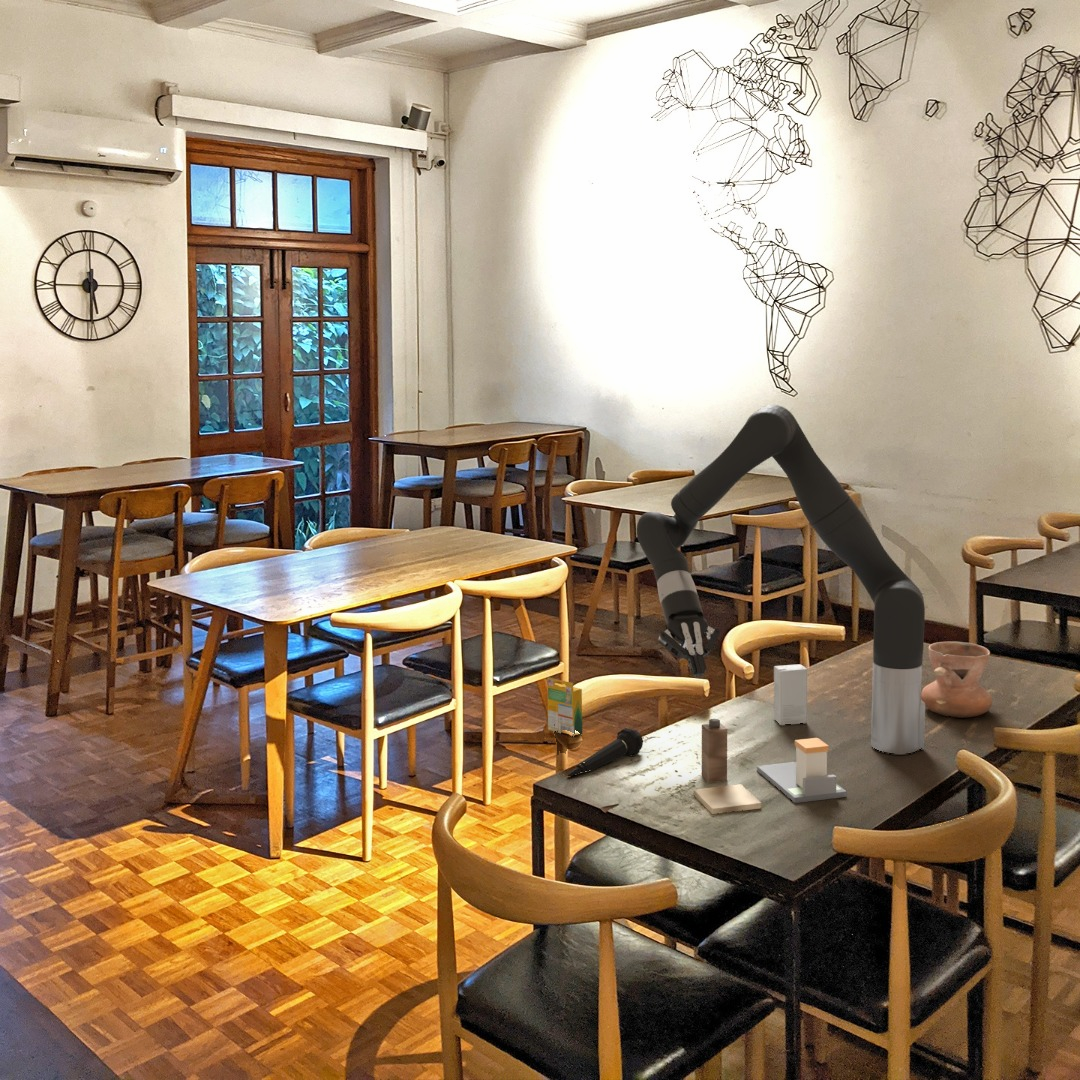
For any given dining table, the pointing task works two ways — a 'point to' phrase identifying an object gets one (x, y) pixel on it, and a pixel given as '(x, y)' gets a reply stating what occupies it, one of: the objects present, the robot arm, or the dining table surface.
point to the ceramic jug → (957, 680)
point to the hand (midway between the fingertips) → (700, 675)
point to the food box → (564, 706)
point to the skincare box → (790, 694)
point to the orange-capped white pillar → (810, 759)
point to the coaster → (727, 799)
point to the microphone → (613, 751)
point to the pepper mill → (714, 751)
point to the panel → (812, 786)
